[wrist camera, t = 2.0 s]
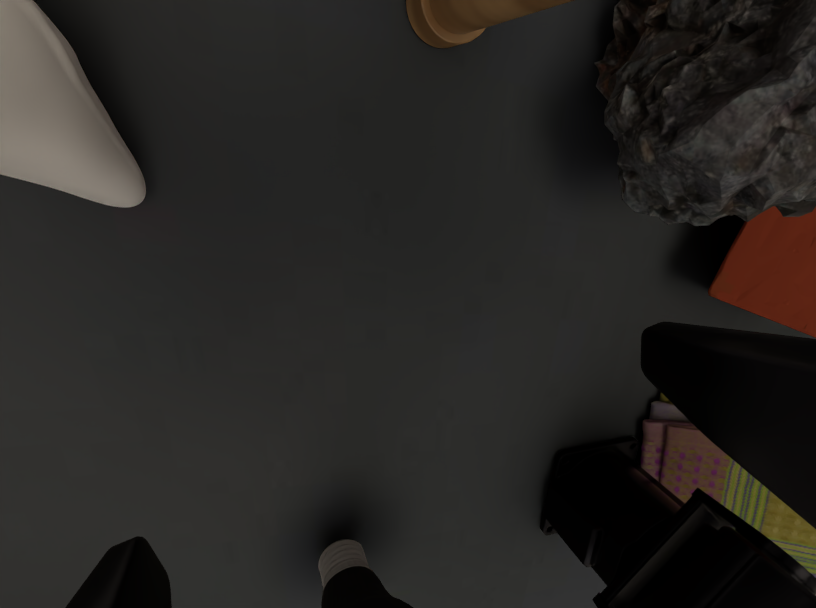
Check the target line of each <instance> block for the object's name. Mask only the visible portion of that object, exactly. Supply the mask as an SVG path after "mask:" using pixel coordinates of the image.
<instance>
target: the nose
mask: <svg viewBox="0 0 816 608" xmlns="http://www.w3.org/2000/svg"><path fill="white" fill-rule="evenodd" d="M0 174H1V175H5V176H9V177H13V178H17V179H20V180H24V181H28V182H32V183H36V184H39V185H43V186H47V187H50V188H54V189H57V190H60V191H64V192H67V193H70V194H73V195H76V196H79V197H82V198H85V199H88V200H91V201H94V202H97V203H101V204H105V205H109V206H114V207H133V206H136V205H139V204H140V203H141V202H142V201H143V200H144V198H145V195H146V185H145V181H144V177H143V174H142V172H141V170H140V168H139V166H138V164H137V162H136V160H135V159H134V157H133V155H132V154H131V152H130V150H129V149H128V147H127V146H126V144H125V142H124V141H123V139H122V138H121V136H120V134H119V133H118V131H117V129H116V128H115V126H114V124H113V122H112V120H111V119H110V117H109V115H108V113H107V111H106V110H105V108H104V106H103V104H102V103H101V101H100V100H99V98H98V96H97V95H96V93H95V91H94V90H93V88H92V86H91V85H90V83H89V81H88V79H87V77H86V75H85V73H84V71H83V69H82V67H81V65H80V63H79V61H78V58H77V56H76V54H75V52H74V50H73V49H72V47H71V45H70V44H69V43H68V41H67V40H66V38H65V37H64V36H63V35H62V33H61V32H60V31H59V30H58V28H57V27H56V26H55V25H54V24H53V22H52V21H51V20H50V19H49V18H48V17H47V15H46V14H45V13H44V12H43V11H42V10H41V9H40V7H39V6H38V5H37V4H36V3H35V2H34V1H33V0H0Z"/></svg>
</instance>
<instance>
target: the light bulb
mask: <svg viewBox="0 0 816 608" xmlns="http://www.w3.org/2000/svg"><path fill="white" fill-rule="evenodd" d="M318 567H319V571H320V575H321V580H322V584H323V596H322V608H413V607H411V606H410V605H409V604H407V603H405V602H403V601H402V600H400V599H397V598H394V597H393V596H391V595H390V594H389V593H388V592H387V591H386V590H385V588H384V586H383V585H382V583H381V581H380V580H379V578H378V577H377V576H376V575H375V574H374V572H373V570H371V569H370V568H369V565H368V562H367V560H366V556H365V553H364V550H363V548H362V546H361V545H360V544H359V543H358V542H356V541H354V540H349V539H345V540H339V541H336V542H334V543H332V544H331V545H329V546H328V547H327V548H326V549H325V550H324V551H323V553H322V555H321V557H320V559H319V565H318Z"/></svg>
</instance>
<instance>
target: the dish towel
mask: <svg viewBox="0 0 816 608" xmlns="http://www.w3.org/2000/svg"><path fill="white" fill-rule="evenodd" d="M643 434H644V436H643V443H642V446H641V450H642V453H641V458H640V460H641V467H642V468H643V469H644V470H645V471H647V472H648V473H649V474H650V475H651V476H653V477H654V478H655V479H656V480H657V481H659V482H660V483H661V484H662V485H663V486H665V487H666V488H667V489H668V490H669V491H671V492H672V493H673V494H674V495H675V496H677V497H678V498H679V499H680V500H682V501H683V502H684V503H686V502H687V501H688V500H689V499H690V498H691V496H692V495H691V494H692V493H693V492H694V490H695V489H696V488H697V487H698V488H699V489H701V490H702V491H704V492H705V493H706V494H708V495H709V496H711V497H712V498H713V499H715V500H716V501H718V502H719V503H720V504H722V505H723V506H725V507H726V508H727V509H729V510H730V511H732V512H733V513H734V514H736V515H737V516H738V517H740V518H741V519H743V520H744V521H745V522H747V523H748V524H750V525H751V526H752V527H754V528H755V529H757V530H758V531H759V532H761V533H762V534H763V535H765V536H766V537H767V538H769V539H770V540H771V541H773V542H774V543H775V544H776V545H778V546H779V547H780V548H781V549H783V550H784V551H785V552H786V553H788V554H789V555H790V556H791V557H793V558H794V559H795V560H796V561H797V562H799V563H800V564H801V565H802V566H803V567H804V568H806V569H807V570H808V571H809V572H810V573H811V574H812V575H813V576H814V577H816V529H815V528H813V527H812V526H811V525H810V524H809V523H807V522H806V521H805V520H804V519H803V518H802V517H800V516H799V515H798V514H797V513H796V512H794V511H793V510H792V509H791V508H790V507H788V506H787V505H786V504H785V503H784V502H782V501H781V500H780V499H779V498H778V497H777V496H775V495H774V494H773V493H772V492H771V491H769V490H768V489H767V488H766V487H765V486H763V485H762V484H761V483H760V482H759V481H758V480H756V479H755V478H754V477H753V476H752V475H750V474H749V473H748V472H747V471H746V470H744V469H743V468H742V467H741V466H740V465H739V464H737V463H736V462H735V461H734V460H733V459H731V458H730V457H729V456H728V455H727V454H725V453H724V452H723V451H722V450H721V449H720V448H718V447H717V446H716V445H715V444H714V443H713V442H711V441H710V440H709V439H708V438H707V437H706V436H705V435H704V434H703V433H701V432H700V431H699V430H698V429H697V428H696V427H695V426H694V425H693V424H692V423H691V422H690V421H689V420H688V419H687V418H686V417H685V416H684V415H683V414H682V413H681V412H680V411H679V410H678V409H677V408H676V407H675V406H674V405H673V404H672V403H671V402H670V401H669V400H668V399H667V398H666V397H665V396H664V395H663V394H662V393H660V399H659V401H654V402H652V403H651V410H650V417H649V419H645V420H643ZM815 596H816V595H815Z"/></svg>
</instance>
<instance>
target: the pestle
mask: <svg viewBox="0 0 816 608" xmlns="http://www.w3.org/2000/svg"><path fill="white" fill-rule="evenodd" d="M571 1H574V0H406V7H407V14H408V18H409V21H410V23H411V26H412V28H413V29H414V31H415V33H416V34H417V35H418V36H419V37H420V38H421V39H422V40H423V41H424V42H425V43H427V44H429V45H430V46H433V47H436V48H449V47H453V46H457V45H460V44H464V43H468V42H470V41H472V40H474V39H476V38H477V37H478V36H479V35H480V34H481V33H482V32H483V31H484V30H485V28H486V27H489V26H493V25H496V24H499V23H502V22H506V21H509V20H512V19H515V18H519V17H522V16H525V15H528V14H532V13H535V12H538V11H541V10H545V9H548V8H551V7H554V6H558V5H561V4H564V3H567V2H571Z"/></svg>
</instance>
